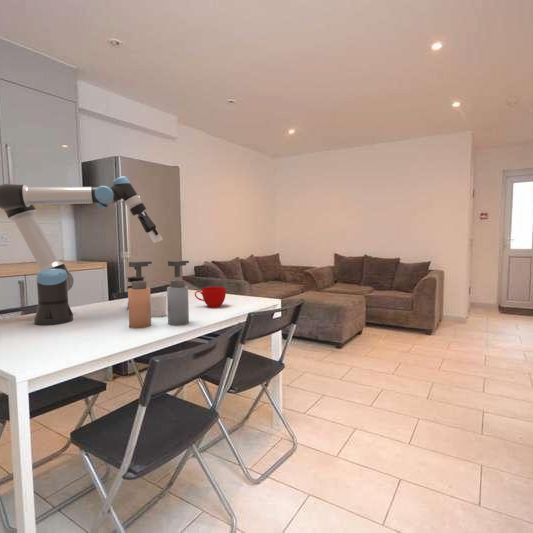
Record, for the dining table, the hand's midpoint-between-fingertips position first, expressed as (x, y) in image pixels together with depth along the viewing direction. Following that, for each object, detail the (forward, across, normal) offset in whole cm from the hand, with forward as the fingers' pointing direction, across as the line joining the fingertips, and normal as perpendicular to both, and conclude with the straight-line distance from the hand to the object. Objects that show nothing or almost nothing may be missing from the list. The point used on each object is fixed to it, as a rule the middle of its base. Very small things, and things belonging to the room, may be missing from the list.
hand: (158, 241), depth 188 cm
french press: (+26, +9, +27) cm, 38 cm away
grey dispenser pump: (+9, -32, +20) cm, 39 cm away
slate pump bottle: (+34, -35, +18) cm, 52 cm away
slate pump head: (+17, -36, +6) cm, 40 cm away
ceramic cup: (+45, -4, -4) cm, 45 cm away
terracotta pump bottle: (+26, -32, +31) cm, 52 cm away
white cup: (+30, -15, +22) cm, 40 cm away
